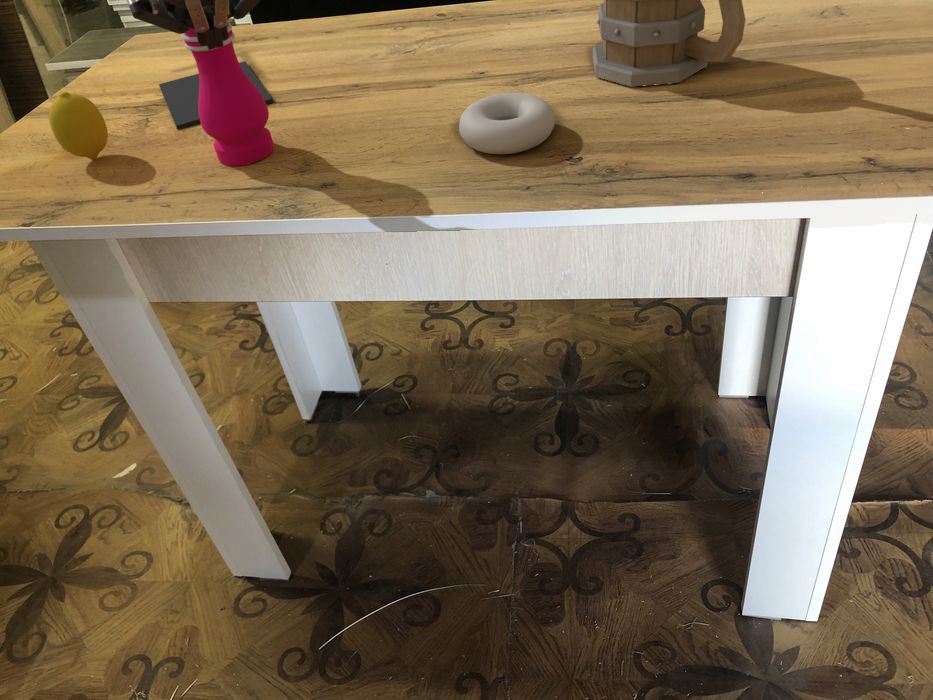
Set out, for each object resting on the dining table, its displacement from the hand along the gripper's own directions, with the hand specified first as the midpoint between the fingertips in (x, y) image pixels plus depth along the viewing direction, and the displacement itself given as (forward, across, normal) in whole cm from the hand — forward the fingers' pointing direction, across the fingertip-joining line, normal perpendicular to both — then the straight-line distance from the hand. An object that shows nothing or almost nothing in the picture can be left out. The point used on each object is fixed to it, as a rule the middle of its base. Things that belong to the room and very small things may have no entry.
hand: (212, 39), depth 74 cm
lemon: (+20, +16, 0) cm, 25 cm away
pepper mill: (+13, 0, +7) cm, 14 cm away
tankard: (+4, -48, +15) cm, 51 cm away
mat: (+27, 0, -7) cm, 28 cm away
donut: (+2, -25, +17) cm, 31 cm away
